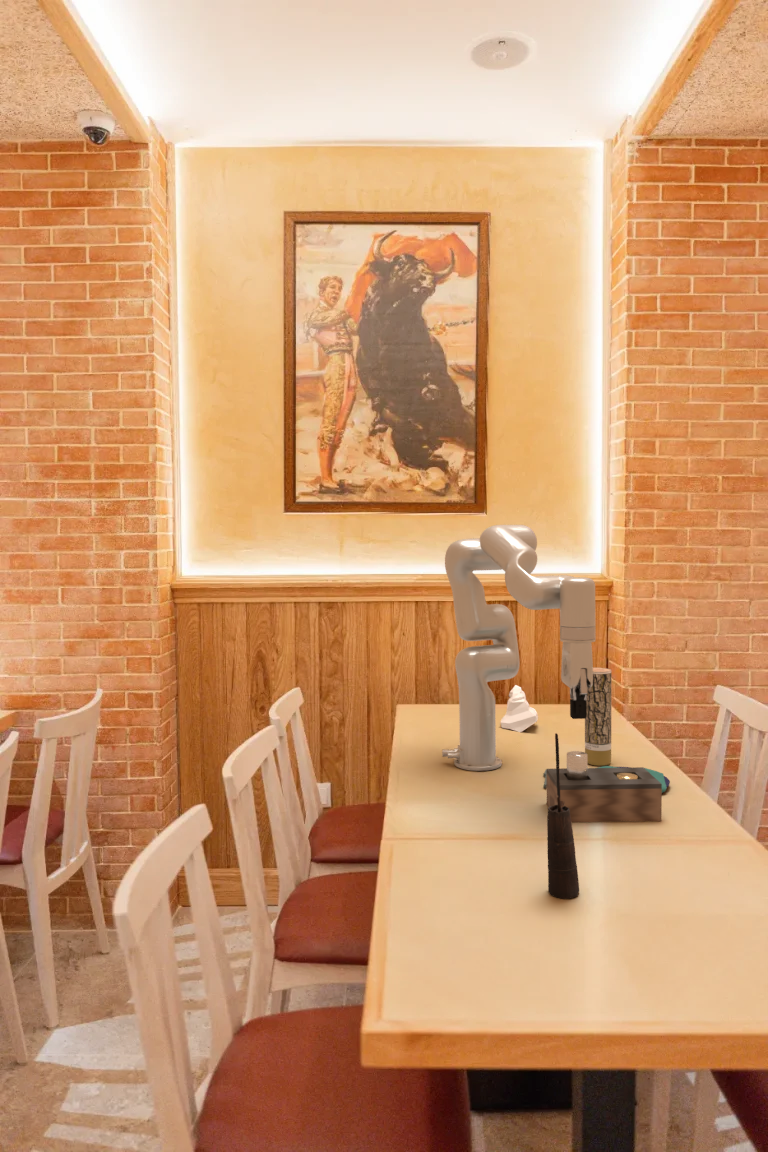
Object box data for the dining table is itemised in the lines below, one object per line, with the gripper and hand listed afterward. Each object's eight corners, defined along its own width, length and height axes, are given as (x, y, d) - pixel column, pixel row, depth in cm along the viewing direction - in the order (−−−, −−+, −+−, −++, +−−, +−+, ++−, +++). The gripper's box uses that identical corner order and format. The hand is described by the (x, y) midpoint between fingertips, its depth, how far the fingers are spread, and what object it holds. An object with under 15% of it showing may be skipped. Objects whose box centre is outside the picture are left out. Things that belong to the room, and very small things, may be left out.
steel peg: (569, 788, 175) (569, 756, 174) (564, 782, 179) (564, 751, 179) (589, 788, 175) (589, 756, 174) (584, 782, 179) (584, 751, 179)
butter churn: (551, 873, 146) (551, 720, 144) (601, 887, 140) (601, 728, 138) (526, 891, 139) (525, 730, 137) (577, 907, 133) (577, 739, 131)
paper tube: (605, 768, 209) (605, 673, 208) (580, 763, 213) (580, 670, 212) (615, 762, 215) (615, 669, 213) (590, 758, 219) (591, 666, 218)
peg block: (558, 822, 171) (558, 785, 171) (546, 803, 183) (546, 768, 183) (661, 820, 171) (661, 783, 171) (643, 801, 183) (643, 767, 183)
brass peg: (620, 810, 175) (620, 779, 175) (614, 803, 179) (614, 772, 179) (640, 810, 175) (640, 778, 175) (633, 803, 179) (634, 772, 179)
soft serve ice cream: (499, 737, 248) (488, 692, 250) (506, 729, 262) (496, 687, 264) (539, 729, 245) (527, 684, 246) (544, 722, 259) (533, 679, 260)
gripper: (553, 630, 182) (553, 711, 183) (568, 638, 167) (569, 726, 168) (586, 630, 182) (586, 710, 183) (604, 638, 167) (605, 725, 168)
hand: (578, 717), depth 176 cm, fingers closed
